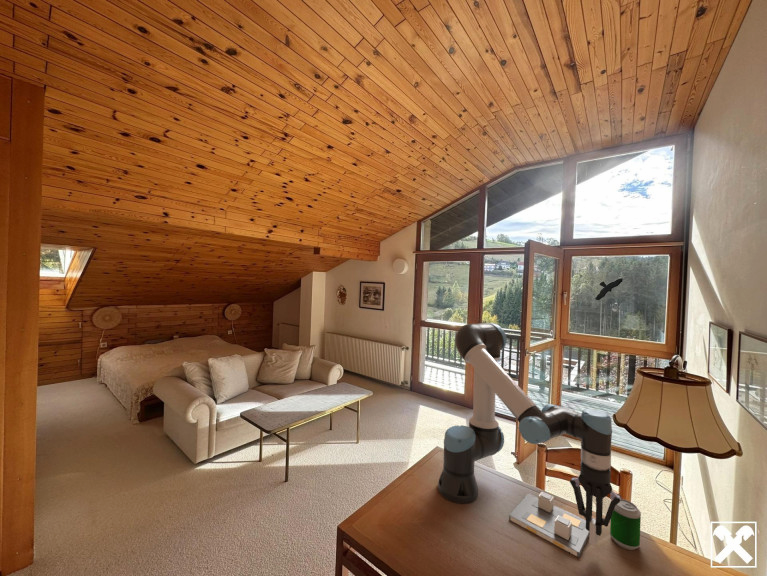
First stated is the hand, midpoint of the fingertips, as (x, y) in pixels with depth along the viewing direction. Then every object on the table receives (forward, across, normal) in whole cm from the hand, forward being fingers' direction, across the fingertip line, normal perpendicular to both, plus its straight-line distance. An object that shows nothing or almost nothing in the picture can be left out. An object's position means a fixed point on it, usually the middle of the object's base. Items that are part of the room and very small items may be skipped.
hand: (593, 542), depth 96 cm
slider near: (+2, -8, 0) cm, 8 cm away
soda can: (+4, +6, +14) cm, 15 cm away
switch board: (+4, -13, +4) cm, 14 cm away
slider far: (+2, -16, +9) cm, 19 cm away
